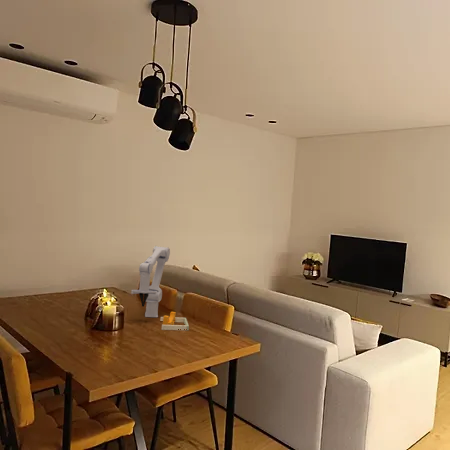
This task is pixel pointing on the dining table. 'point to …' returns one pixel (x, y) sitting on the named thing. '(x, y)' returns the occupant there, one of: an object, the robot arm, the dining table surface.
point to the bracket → (176, 327)
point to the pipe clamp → (169, 319)
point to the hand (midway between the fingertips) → (142, 306)
